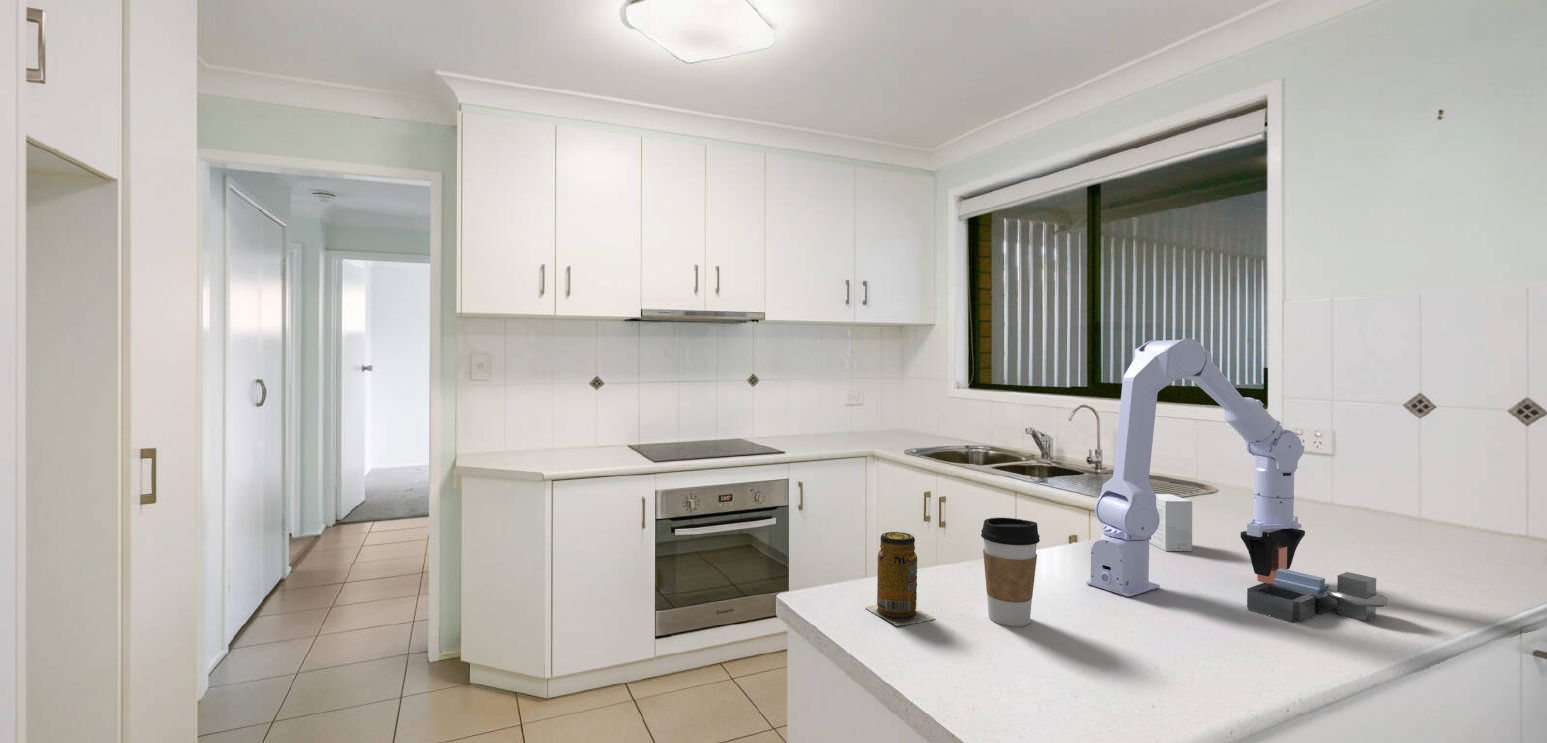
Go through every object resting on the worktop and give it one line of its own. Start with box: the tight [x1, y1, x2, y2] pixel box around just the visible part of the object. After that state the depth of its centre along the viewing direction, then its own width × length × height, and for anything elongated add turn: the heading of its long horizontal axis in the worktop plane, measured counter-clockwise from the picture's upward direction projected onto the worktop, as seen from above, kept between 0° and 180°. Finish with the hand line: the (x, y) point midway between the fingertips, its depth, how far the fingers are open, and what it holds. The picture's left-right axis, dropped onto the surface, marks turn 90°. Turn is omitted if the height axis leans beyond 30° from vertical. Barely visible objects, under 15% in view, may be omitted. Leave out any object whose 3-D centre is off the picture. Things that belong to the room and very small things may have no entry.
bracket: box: [1273, 568, 1327, 595], centre depth 110 cm, size 4×6×4 cm, turn 33°
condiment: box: [864, 531, 936, 626], centre depth 103 cm, size 7×8×12 cm
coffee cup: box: [980, 517, 1041, 627], centre depth 101 cm, size 8×8×15 cm
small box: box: [1149, 493, 1193, 552], centre depth 142 cm, size 8×6×10 cm
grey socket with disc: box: [1246, 571, 1388, 623], centre depth 105 cm, size 17×14×6 cm
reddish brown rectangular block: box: [1256, 545, 1287, 584], centre depth 120 cm, size 3×3×6 cm
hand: (1272, 571), depth 120 cm, fingers open, 7 cm apart
